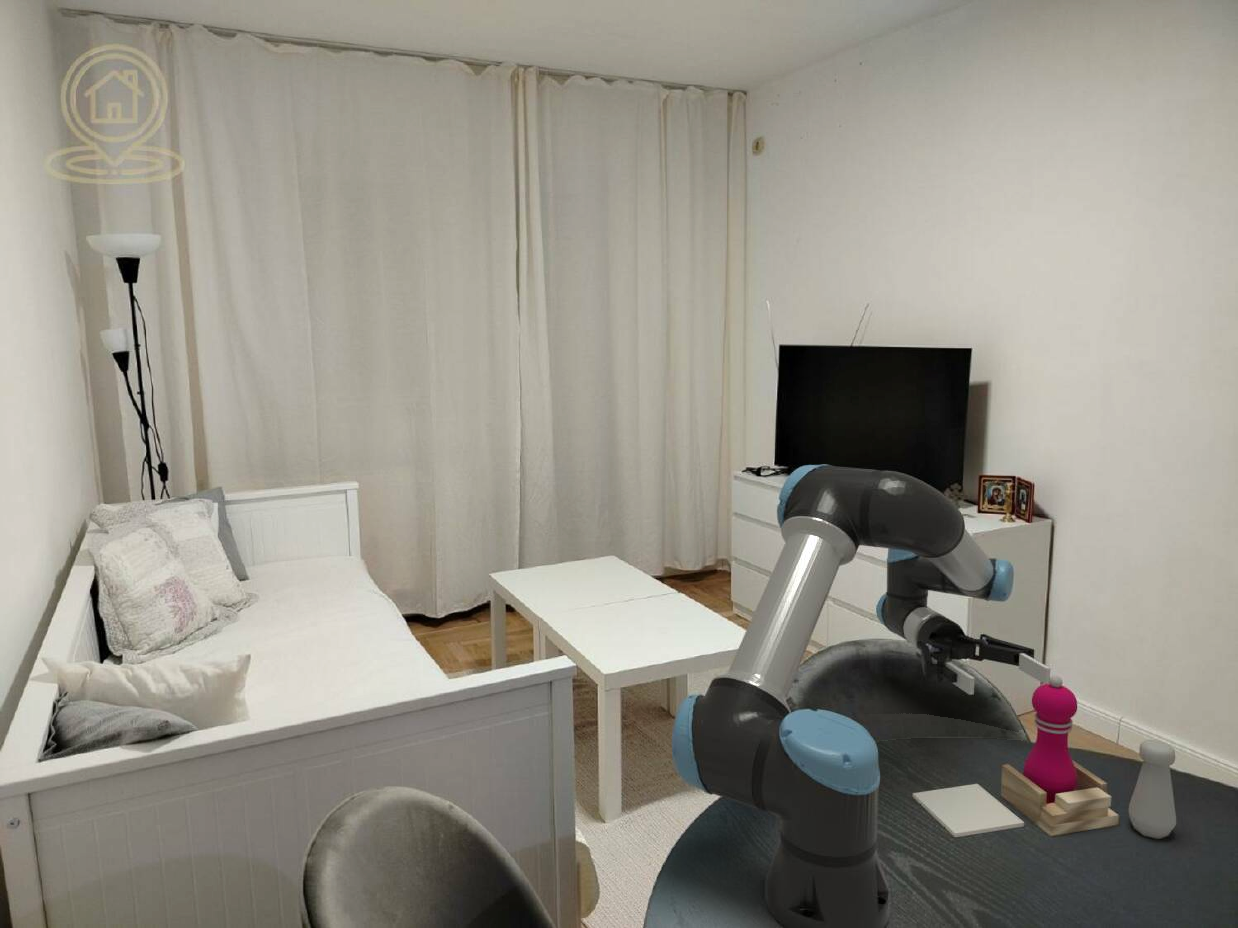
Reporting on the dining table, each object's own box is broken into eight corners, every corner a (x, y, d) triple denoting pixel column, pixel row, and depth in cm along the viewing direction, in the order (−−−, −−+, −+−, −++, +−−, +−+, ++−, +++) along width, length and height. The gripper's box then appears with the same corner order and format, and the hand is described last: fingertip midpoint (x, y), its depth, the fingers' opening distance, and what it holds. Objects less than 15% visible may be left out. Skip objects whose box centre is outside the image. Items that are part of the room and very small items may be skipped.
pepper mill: (1063, 790, 135) (1072, 666, 132) (1083, 816, 128) (1092, 686, 125) (1014, 789, 136) (1021, 665, 133) (1031, 815, 129) (1039, 685, 125)
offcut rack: (1050, 835, 123) (1052, 802, 123) (1000, 795, 134) (1002, 764, 133) (1118, 824, 126) (1120, 792, 125) (1063, 785, 136) (1065, 755, 136)
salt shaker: (1139, 814, 128) (1146, 730, 126) (1182, 832, 124) (1190, 745, 122) (1119, 828, 125) (1126, 742, 123) (1162, 847, 120) (1170, 758, 118)
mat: (954, 837, 124) (955, 833, 123) (912, 796, 134) (912, 793, 134) (1024, 826, 126) (1024, 822, 126) (977, 787, 137) (977, 783, 136)
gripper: (994, 646, 163) (1077, 694, 143) (871, 661, 158) (938, 713, 137) (996, 608, 162) (1080, 650, 141) (872, 621, 157) (940, 667, 136)
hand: (1010, 681), depth 139 cm, fingers open, 13 cm apart
